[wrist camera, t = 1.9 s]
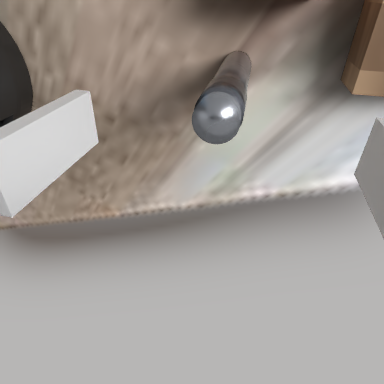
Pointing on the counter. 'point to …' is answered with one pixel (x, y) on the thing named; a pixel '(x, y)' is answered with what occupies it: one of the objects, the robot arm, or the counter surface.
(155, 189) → the counter surface
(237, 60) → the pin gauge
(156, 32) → the counter surface
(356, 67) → the block
